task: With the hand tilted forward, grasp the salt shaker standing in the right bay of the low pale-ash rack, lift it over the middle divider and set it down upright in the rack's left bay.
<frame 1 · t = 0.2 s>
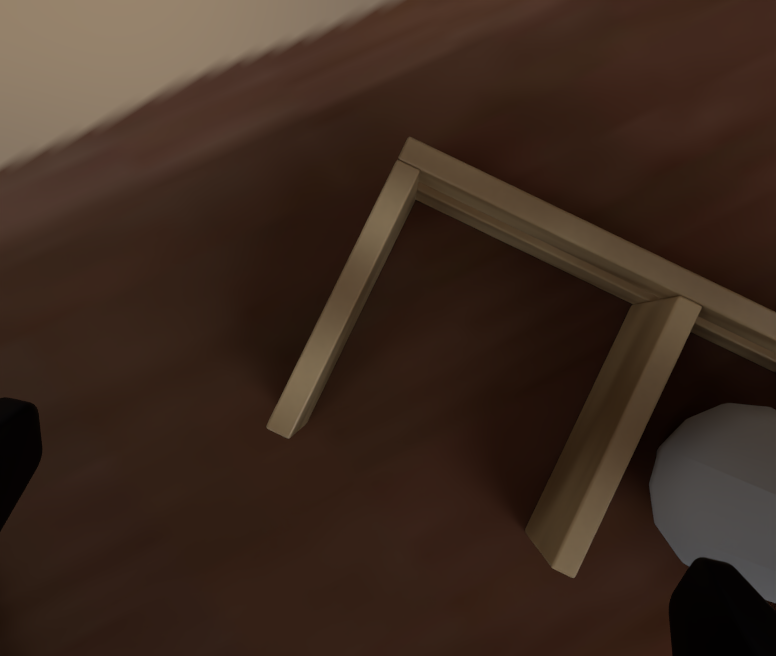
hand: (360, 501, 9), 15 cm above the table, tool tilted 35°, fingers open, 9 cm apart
rack: (587, 421, 24), on the table
salt shaker: (704, 479, 24), on the table
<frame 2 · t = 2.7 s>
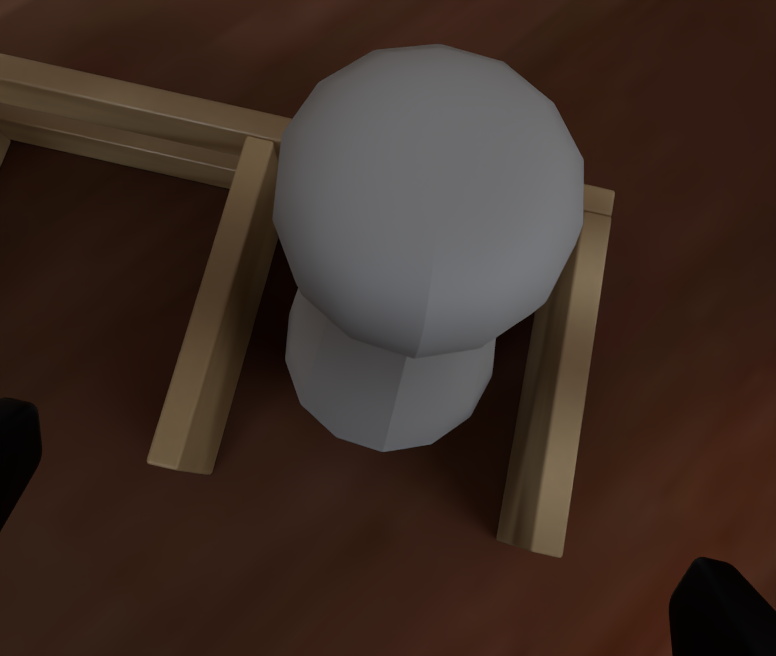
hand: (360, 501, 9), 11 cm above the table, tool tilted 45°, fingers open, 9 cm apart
rack: (240, 329, 21), on the table
salt shaker: (386, 363, 21), on the table
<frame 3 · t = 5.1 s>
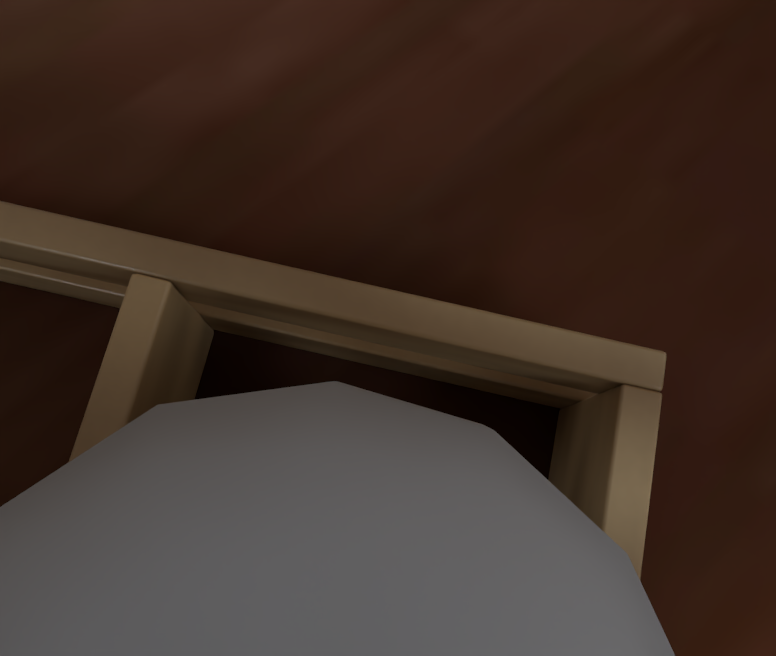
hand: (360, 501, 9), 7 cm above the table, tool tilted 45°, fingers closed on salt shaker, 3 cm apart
rack: (143, 512, 15), on the table
salt shaker: (344, 558, 15), on the table, touching gripper
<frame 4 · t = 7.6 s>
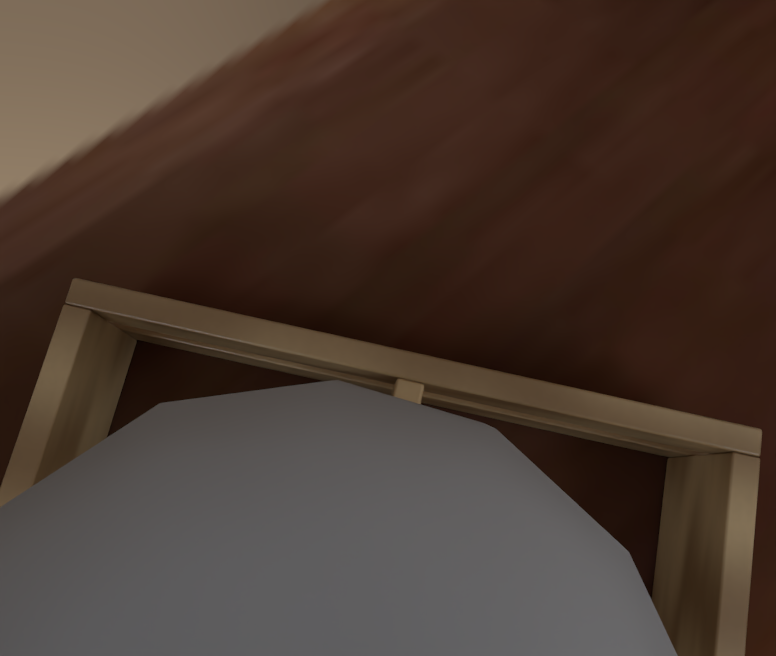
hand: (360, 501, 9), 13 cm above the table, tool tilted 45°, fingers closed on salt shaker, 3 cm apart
rack: (372, 537, 21), on the table
salt shaker: (344, 558, 15), point 6 cm above the table, touching gripper
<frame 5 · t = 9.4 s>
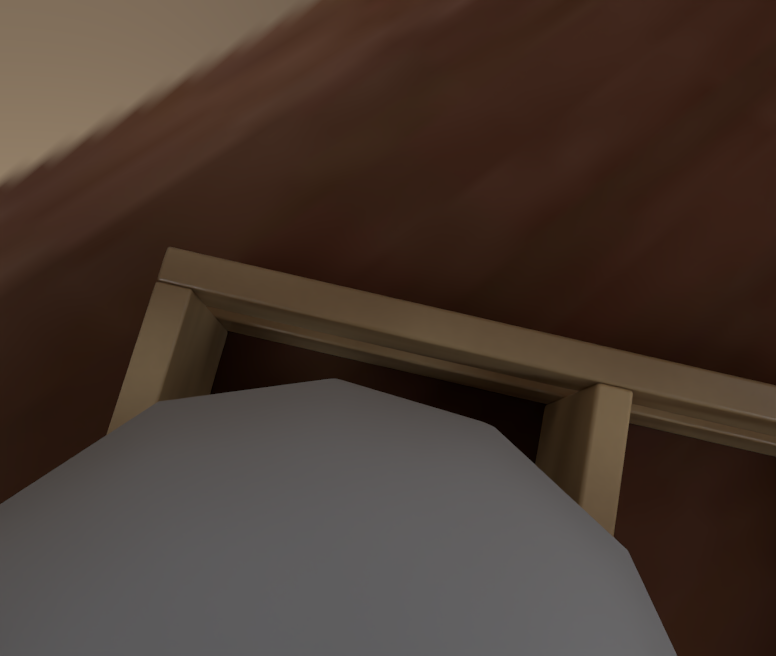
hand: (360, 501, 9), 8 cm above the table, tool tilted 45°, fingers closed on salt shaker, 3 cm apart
rack: (530, 583, 17), on the table
salt shaker: (344, 557, 15), point 1 cm above the table, touching gripper
when the fingers open (7 cm above the table, at t = 10.2 s): salt shaker stays where it is, on the table.
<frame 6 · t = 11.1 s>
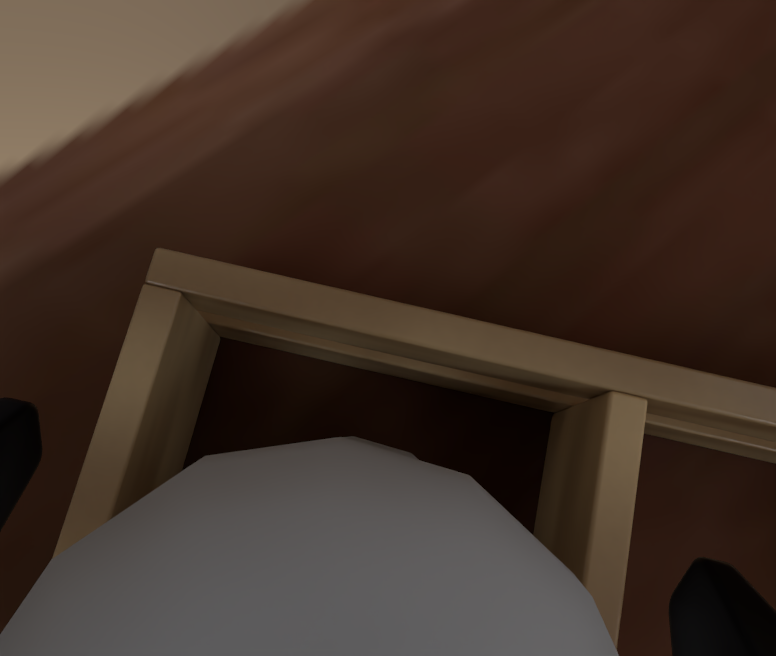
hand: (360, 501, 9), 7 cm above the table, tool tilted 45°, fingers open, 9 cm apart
rack: (538, 601, 16), on the table
salt shaker: (343, 568, 16), on the table
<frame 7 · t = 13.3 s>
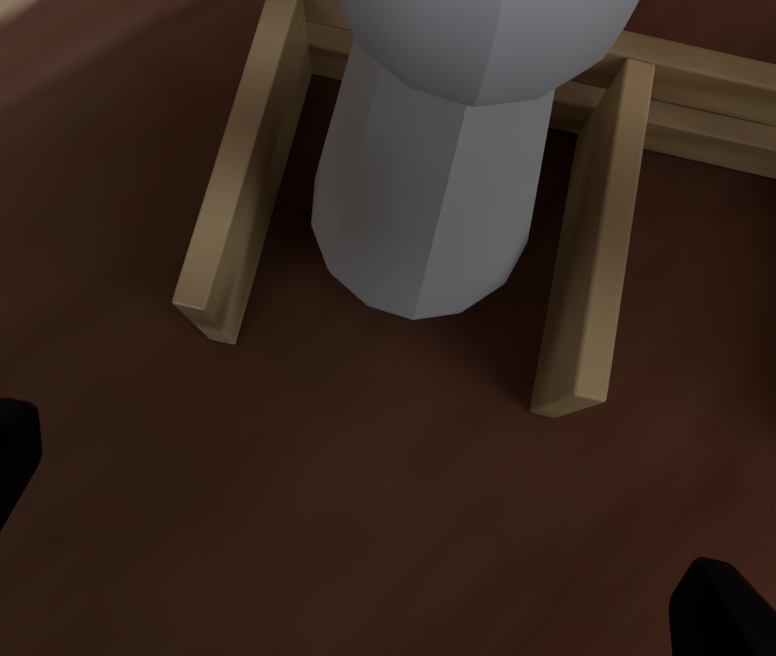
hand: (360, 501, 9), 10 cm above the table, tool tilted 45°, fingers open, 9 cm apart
rack: (566, 269, 20), on the table
salt shaker: (413, 245, 20), on the table
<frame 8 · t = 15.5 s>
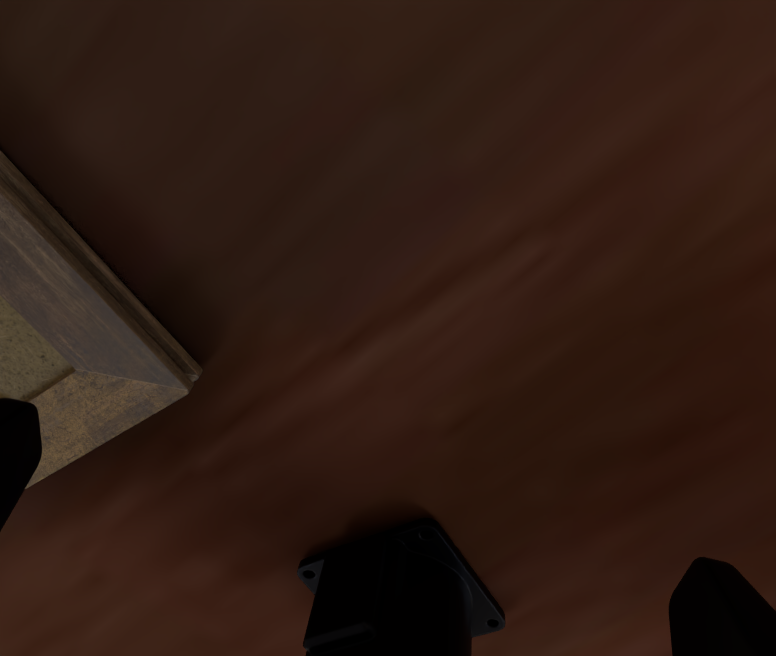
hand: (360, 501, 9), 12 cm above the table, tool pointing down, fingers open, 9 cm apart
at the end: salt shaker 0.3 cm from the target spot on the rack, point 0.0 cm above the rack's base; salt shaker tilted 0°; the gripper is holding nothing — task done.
